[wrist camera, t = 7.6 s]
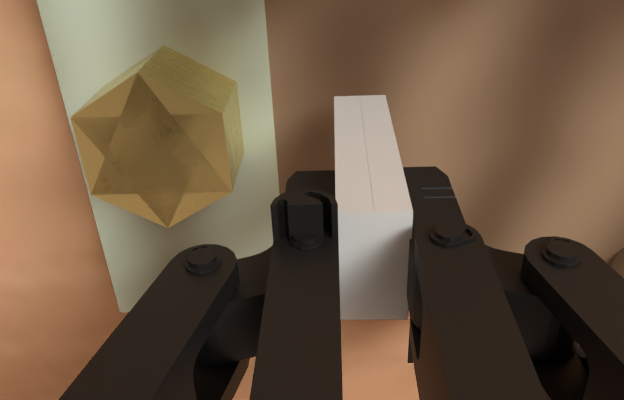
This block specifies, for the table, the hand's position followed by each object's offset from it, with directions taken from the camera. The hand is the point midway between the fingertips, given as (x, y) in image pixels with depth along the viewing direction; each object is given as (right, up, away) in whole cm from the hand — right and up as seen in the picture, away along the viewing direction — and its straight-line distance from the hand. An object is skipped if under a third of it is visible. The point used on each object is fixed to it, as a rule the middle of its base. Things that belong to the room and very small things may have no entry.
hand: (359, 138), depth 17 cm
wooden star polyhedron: (-6, +1, +2) cm, 6 cm away
